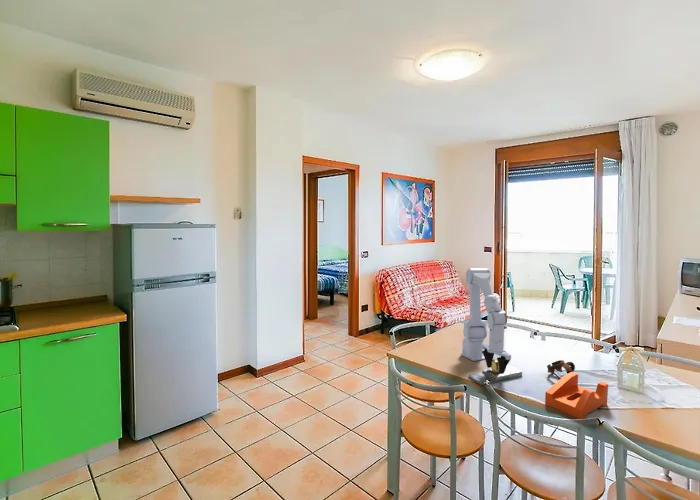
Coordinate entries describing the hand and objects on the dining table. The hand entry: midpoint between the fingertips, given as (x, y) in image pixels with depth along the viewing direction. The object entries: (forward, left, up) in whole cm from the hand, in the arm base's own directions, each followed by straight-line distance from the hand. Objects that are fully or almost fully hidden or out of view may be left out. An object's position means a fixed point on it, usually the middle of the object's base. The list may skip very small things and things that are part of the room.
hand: (495, 370), depth 160 cm
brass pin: (0, 0, -3) cm, 3 cm away
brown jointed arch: (+12, +26, -3) cm, 29 cm away
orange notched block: (+30, +10, -3) cm, 31 cm away
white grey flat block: (0, 0, -3) cm, 3 cm away
